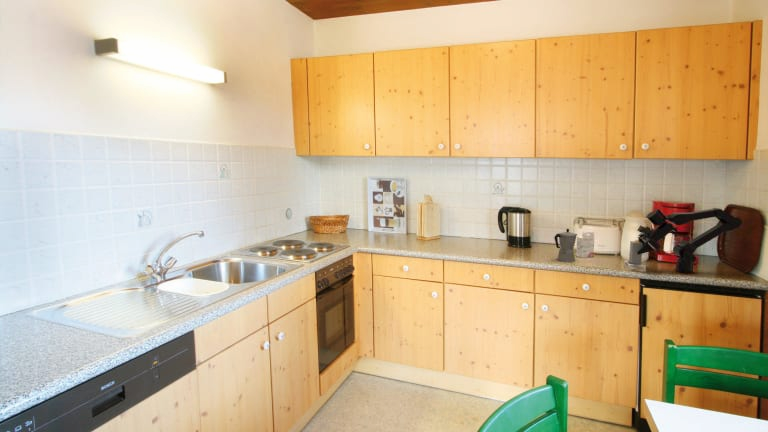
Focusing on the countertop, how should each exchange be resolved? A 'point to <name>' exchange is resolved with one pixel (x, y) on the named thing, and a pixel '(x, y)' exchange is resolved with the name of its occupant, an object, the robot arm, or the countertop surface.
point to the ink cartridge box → (585, 245)
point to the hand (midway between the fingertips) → (635, 252)
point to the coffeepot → (566, 246)
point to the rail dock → (634, 267)
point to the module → (635, 252)
